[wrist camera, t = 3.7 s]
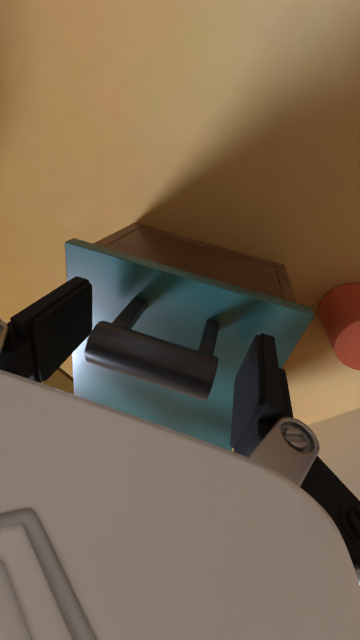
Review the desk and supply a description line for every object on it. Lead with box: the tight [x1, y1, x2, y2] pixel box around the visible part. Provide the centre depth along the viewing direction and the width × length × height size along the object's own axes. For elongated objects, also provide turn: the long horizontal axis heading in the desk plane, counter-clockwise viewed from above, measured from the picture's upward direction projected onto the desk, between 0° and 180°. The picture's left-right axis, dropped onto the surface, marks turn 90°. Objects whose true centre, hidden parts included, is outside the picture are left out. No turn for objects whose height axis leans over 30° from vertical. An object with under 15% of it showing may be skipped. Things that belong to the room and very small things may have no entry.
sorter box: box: [93, 223, 297, 303], centre depth 21 cm, size 17×13×8 cm
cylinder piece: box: [318, 283, 360, 370], centre depth 18 cm, size 4×4×5 cm
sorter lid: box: [65, 238, 314, 451], centre depth 15 cm, size 17×13×5 cm
